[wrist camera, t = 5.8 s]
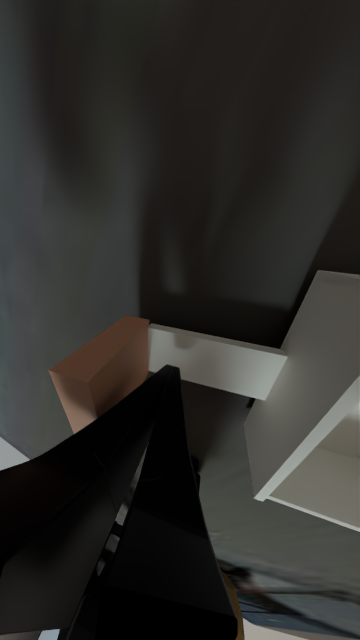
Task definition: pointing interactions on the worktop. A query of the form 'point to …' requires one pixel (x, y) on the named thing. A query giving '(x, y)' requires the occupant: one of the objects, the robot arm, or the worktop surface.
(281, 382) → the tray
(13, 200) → the worktop surface
